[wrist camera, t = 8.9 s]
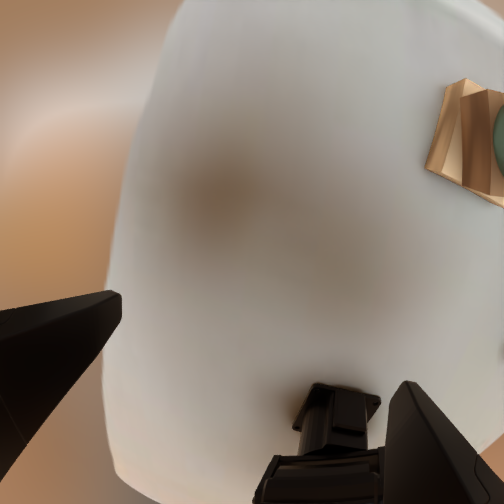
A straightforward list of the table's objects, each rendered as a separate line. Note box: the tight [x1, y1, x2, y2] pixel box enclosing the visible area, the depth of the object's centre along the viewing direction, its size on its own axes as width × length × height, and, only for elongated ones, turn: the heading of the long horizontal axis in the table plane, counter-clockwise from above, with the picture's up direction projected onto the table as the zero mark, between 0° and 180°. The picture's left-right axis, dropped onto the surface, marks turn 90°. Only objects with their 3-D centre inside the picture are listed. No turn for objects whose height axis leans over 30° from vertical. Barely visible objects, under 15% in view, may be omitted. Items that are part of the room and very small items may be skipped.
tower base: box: [425, 78, 504, 208], centre depth 14 cm, size 6×6×4 cm
